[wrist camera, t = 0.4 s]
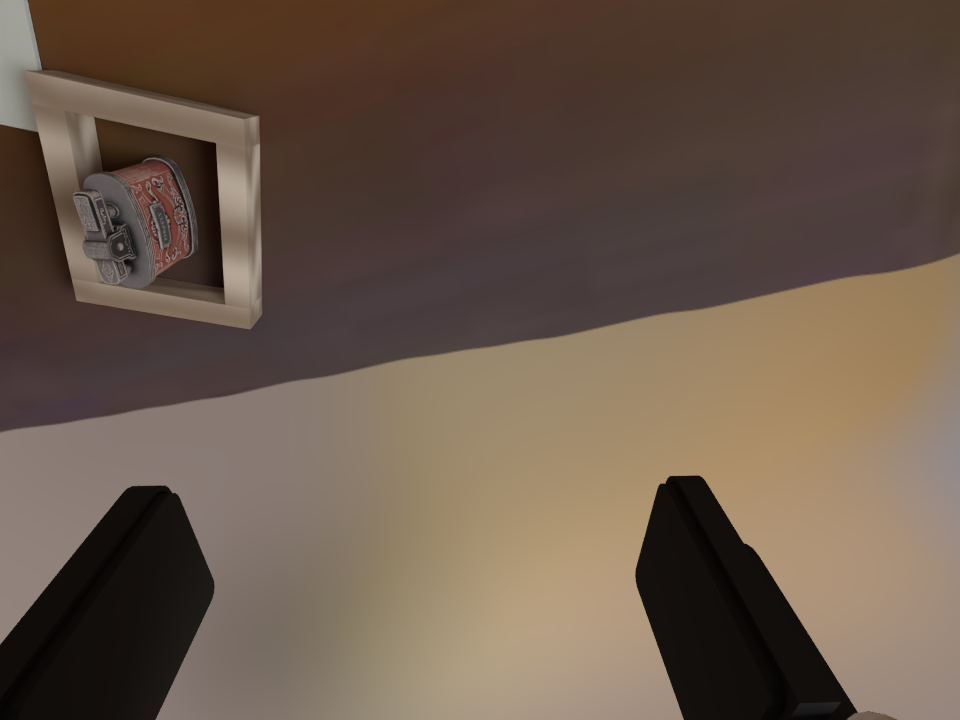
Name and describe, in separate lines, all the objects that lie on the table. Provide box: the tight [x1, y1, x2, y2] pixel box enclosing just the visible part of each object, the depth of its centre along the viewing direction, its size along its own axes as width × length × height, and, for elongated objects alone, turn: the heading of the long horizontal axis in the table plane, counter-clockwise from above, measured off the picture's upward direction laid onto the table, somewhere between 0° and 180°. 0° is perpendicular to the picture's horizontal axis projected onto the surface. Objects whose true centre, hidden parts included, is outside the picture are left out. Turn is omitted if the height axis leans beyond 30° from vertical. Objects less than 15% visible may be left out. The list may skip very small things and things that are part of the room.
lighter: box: [73, 156, 198, 289], centre depth 36 cm, size 8×3×10 cm, turn 176°
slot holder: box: [25, 70, 262, 329], centre depth 39 cm, size 17×14×3 cm
